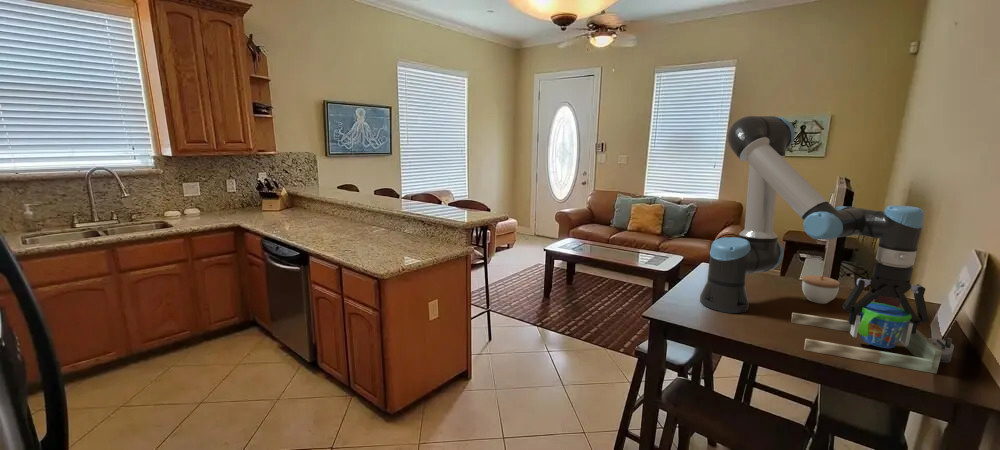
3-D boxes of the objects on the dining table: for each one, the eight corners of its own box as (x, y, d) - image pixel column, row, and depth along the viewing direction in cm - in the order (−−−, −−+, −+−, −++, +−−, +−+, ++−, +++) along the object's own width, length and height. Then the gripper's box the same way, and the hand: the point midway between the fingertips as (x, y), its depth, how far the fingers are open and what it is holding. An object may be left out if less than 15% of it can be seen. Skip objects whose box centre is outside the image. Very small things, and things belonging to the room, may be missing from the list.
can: (902, 319, 134) (911, 278, 131) (879, 318, 135) (888, 277, 132) (889, 312, 140) (897, 272, 137) (867, 310, 141) (875, 271, 138)
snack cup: (878, 331, 123) (885, 299, 120) (921, 348, 113) (929, 313, 110) (836, 337, 119) (842, 304, 117) (876, 355, 109) (884, 319, 107)
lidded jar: (841, 301, 148) (845, 276, 146) (829, 308, 142) (834, 282, 140) (806, 292, 157) (810, 269, 155) (794, 298, 151) (798, 274, 149)
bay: (804, 350, 115) (808, 330, 114) (790, 321, 133) (793, 303, 132) (936, 373, 103) (941, 351, 102) (901, 338, 121) (906, 319, 120)
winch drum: (931, 362, 108) (937, 337, 107) (919, 351, 114) (925, 327, 113) (957, 367, 106) (963, 341, 105) (944, 355, 112) (950, 330, 110)
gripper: (844, 261, 112) (831, 336, 117) (960, 273, 103) (940, 354, 108) (836, 254, 119) (824, 325, 124) (944, 265, 109) (926, 341, 114)
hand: (878, 339), depth 116 cm, fingers closed on snack cup, 10 cm apart
